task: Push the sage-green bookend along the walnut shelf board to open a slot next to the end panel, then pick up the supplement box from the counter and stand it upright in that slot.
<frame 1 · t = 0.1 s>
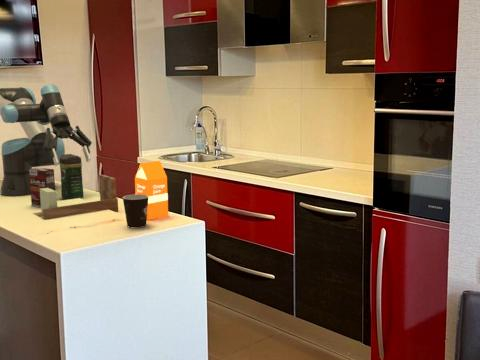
hand: (73, 162, 243), 15 cm above the worktop, tool tilted 35°, fingers open, 13 cm apart
supplement box: (44, 210, 228), on the worktop
orange juice: (152, 216, 216), on the worktop
coffee mug: (133, 226, 203), on the worktop
shelf: (76, 214, 220), on the worktop
bookend: (49, 214, 214), point 1 cm above the worktop, touching shelf
coffee jar: (72, 199, 247), on the worktop
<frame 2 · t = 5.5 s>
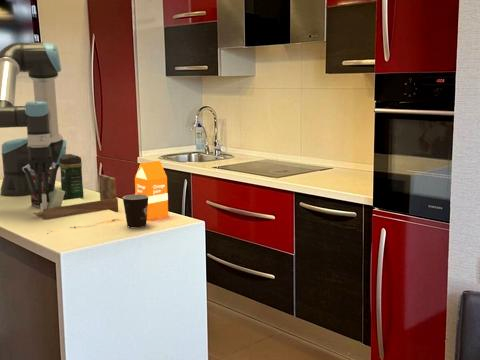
hand: (44, 211, 212), 3 cm above the worktop, tool pointing down, fingers closed
bookend: (50, 213, 214), point 2 cm above the worktop, tilted 21°, touching gripper, shelf
everything else where it was.
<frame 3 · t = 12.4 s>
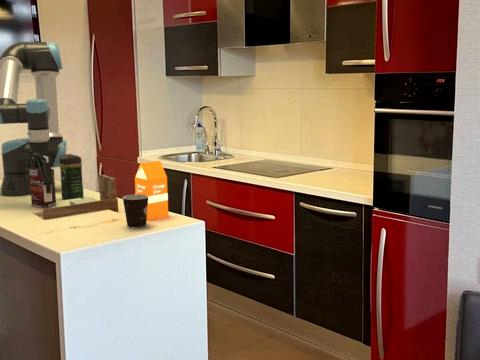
hand: (43, 199, 227), 4 cm above the worktop, tool pointing down, fingers closed on supplement box, 9 cm apart
supplement box: (44, 210, 228), on the worktop, touching gripper
bookend: (74, 206, 219), point 3 cm above the worktop, tilted 90°, touching shelf
everything else where it was.
when the fingers open (8 cm above the worktop, at t = 18.7 s): supplement box stays where it is, resting on bookend.
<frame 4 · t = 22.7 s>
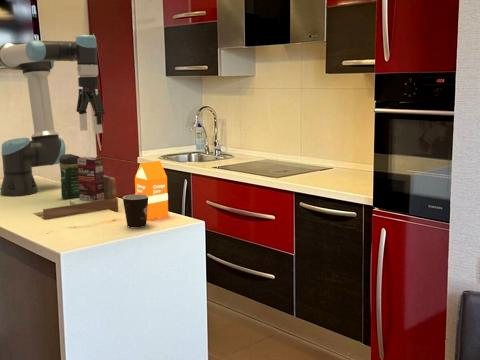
hand: (91, 131, 232), 29 cm above the worktop, tool pointing down, fingers open, 13 cm apart
supplement box: (92, 200, 223), point 4 cm above the worktop, touching bookend
bookend: (74, 206, 219), point 3 cm above the worktop, tilted 90°, touching shelf, supplement box
everything else where it was.
at the end: supplement box inside the target area (0.2 cm from its centre), point 4.3 cm above the worktop; supplement box tilted 0°; bookend inside the target area (1.1 cm from its centre), point 3.0 cm above the worktop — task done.
